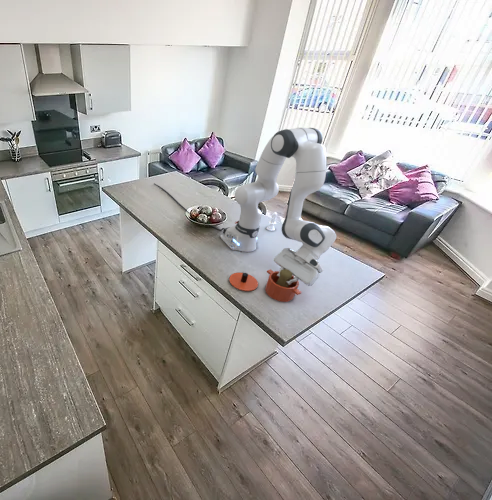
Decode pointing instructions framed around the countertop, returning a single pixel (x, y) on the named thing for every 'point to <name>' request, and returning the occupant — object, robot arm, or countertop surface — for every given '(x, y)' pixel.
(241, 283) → the pot lid
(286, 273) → the cork
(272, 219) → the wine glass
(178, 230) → the countertop surface
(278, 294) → the pot
